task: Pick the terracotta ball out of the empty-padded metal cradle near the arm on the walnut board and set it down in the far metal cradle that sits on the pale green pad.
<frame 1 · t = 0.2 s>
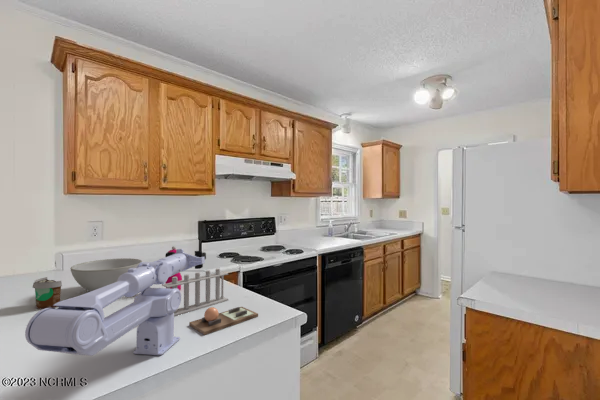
hand: (194, 256, 99), 21 cm above the counter, tool horizontal, fingers open, 7 cm apart
test tube rack: (197, 308, 109), on the counter
terracotta ball: (211, 314, 93), point 3 cm above the counter, touching cradle board
pepper mill: (173, 290, 131), on the counter
decorative bowl: (107, 291, 130), on the counter
cradle board: (225, 320, 96), on the counter
food container: (43, 307, 109), on the counter
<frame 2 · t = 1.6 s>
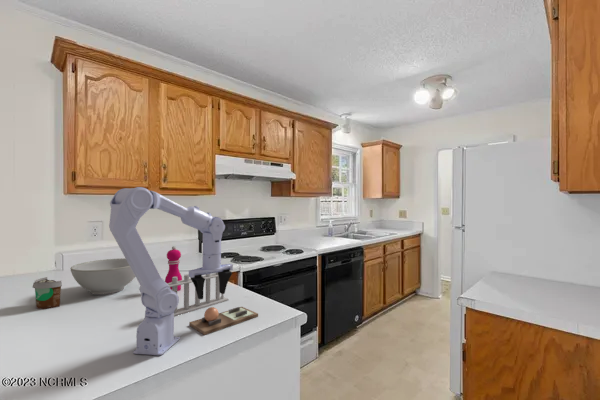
hand: (211, 295, 93), 9 cm above the counter, tool pointing down, fingers open, 7 cm apart
nothing on the counter moved.
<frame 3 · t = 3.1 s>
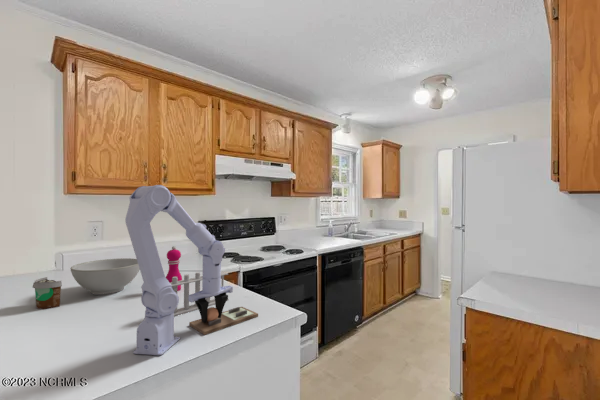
hand: (211, 319, 93), 2 cm above the counter, tool pointing down, fingers closed on terracotta ball, 4 cm apart
terracotta ball: (211, 314, 93), point 3 cm above the counter, touching cradle board, gripper
everything else where it was.
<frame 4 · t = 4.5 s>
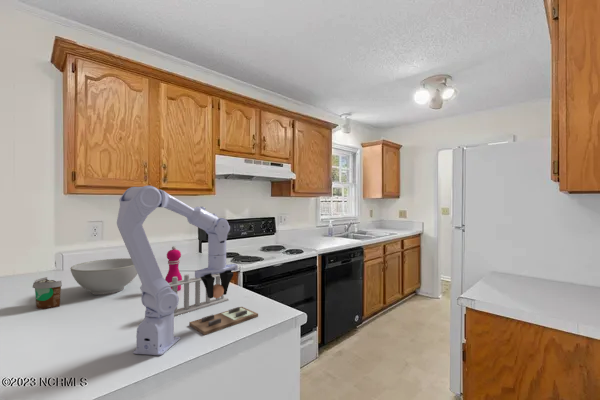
hand: (217, 295, 94), 9 cm above the counter, tool pointing down, fingers closed on terracotta ball, 4 cm apart
terracotta ball: (217, 291, 94), point 11 cm above the counter, touching gripper
everything else where it was.
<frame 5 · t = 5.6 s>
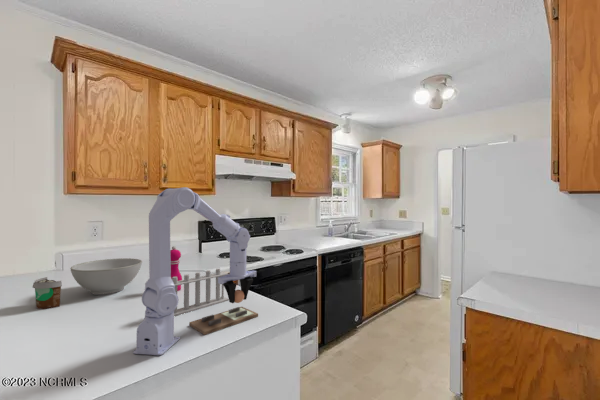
hand: (237, 300, 100), 5 cm above the counter, tool pointing down, fingers closed on terracotta ball, 4 cm apart
terracotta ball: (237, 296, 100), point 7 cm above the counter, touching gripper
everything else where it was.
when the fingers open (4 cm above the counter, at t = 6.3 s): terracotta ball drops 2 cm, resting on cradle board.
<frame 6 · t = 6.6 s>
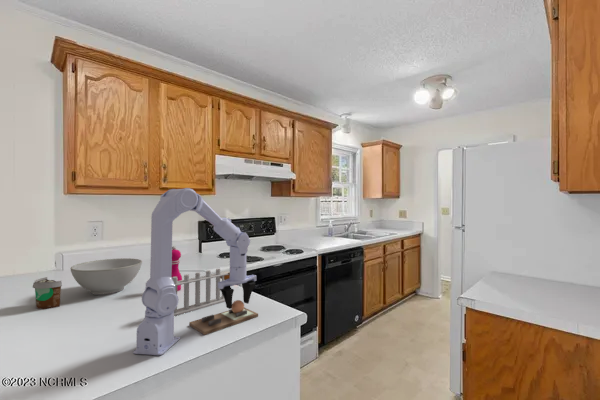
hand: (237, 305, 100), 4 cm above the counter, tool pointing down, fingers open, 6 cm apart
terracotta ball: (237, 306, 100), point 3 cm above the counter, touching cradle board
everything else where it was.
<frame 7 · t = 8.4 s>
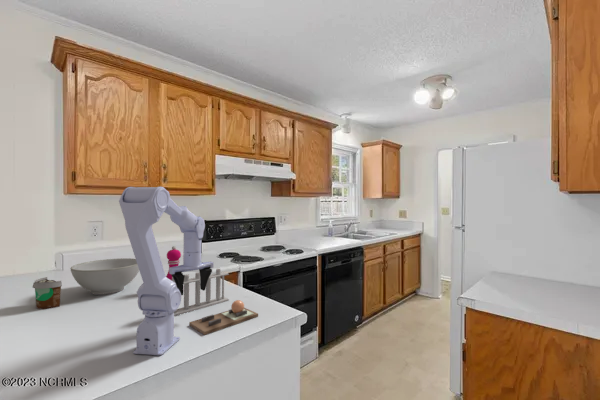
hand: (192, 292, 97), 9 cm above the counter, tool pointing down, fingers open, 7 cm apart
nothing on the counter moved.
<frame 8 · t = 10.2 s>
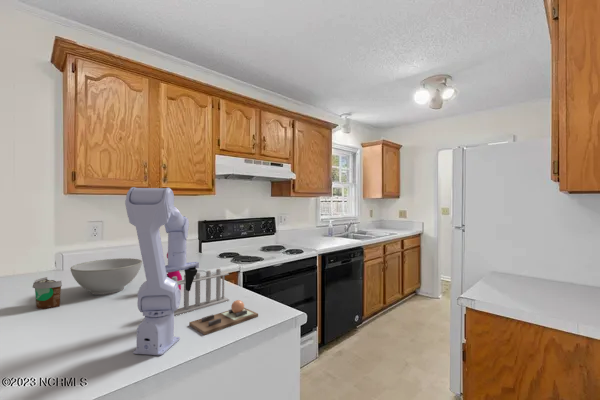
hand: (176, 292, 96), 9 cm above the counter, tool pointing down, fingers open, 7 cm apart
nothing on the counter moved.
at the end: terracotta ball 0.1 cm from the target spot, point 3.4 cm above the counter; the gripper is holding nothing; terracotta ball moved 10.0 cm from its start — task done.
